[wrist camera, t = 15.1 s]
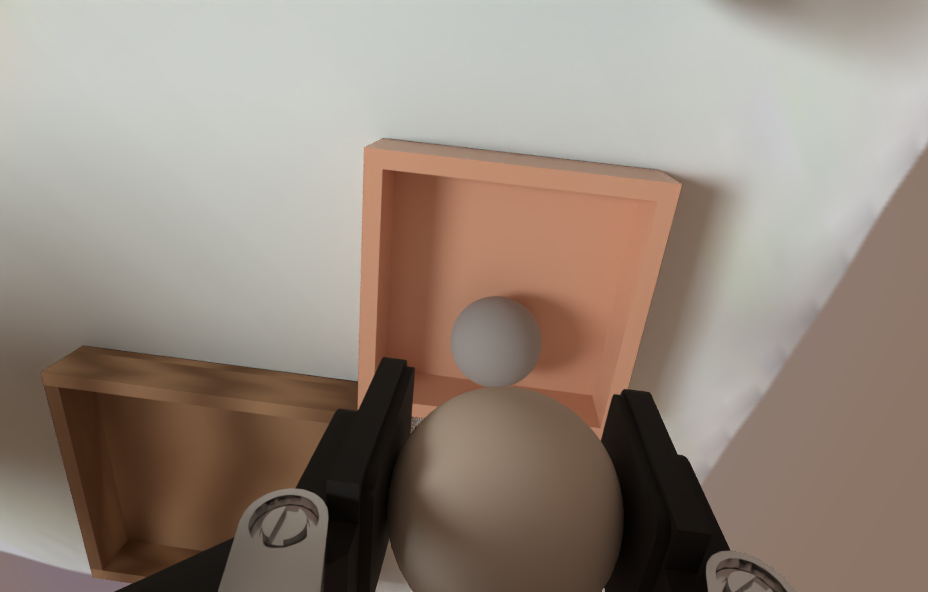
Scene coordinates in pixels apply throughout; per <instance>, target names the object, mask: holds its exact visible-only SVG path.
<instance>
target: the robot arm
mask: <svg viewBox="0 0 928 592" xmlns="http://www.w3.org/2000/svg"><path fill="white" fill-rule="evenodd" d="M414 379H415V367H409V366H407V360H403V359H396V358H388V357H383V358H382V359H381V361H380V364H379V366H378V368H377V370H376V372H375V374H374V377H373V379H372V381H371V383H370V385H369V388H368V390H367V392H366V394H365V396H364V398H363V401H362V403H361V405H360V407H359V409H358V411H355V410H348V409H341V408H339V409H337V410H336V412H335V413H334V415H333V417H332V419H331V421H330V423H329V425H328V427H327V429H326V431H325V432H324V434H323V436H322V438H321V440H320V442H319V444H318V446H317V448H316V450H315V452H314V453H313V455H312V457H311V459H310V461H309V463H308V465H307V467H306V469H305V471H304V473H303V474H302V476H301V478H300V480H299V482H298V484H297V486H296V488H295V489H293V488H290V489H282V490H277V491H274V492H271V493H268V494H266V495H264V496H262V497H261V498H259V499H257V500H256V501H254V502H253V503H252V504H251V505H250V506H249V507H248V508H247V509H246V510H245V511H244V513H243V515H242V517H241V519H240V521H239V524H238V527H237V531H236V534H235V537H233V538H231V539H229V540H227V541H225V542H222V543H220V544H218V545H216V546H214V547H211V548H209V549H207V550H205V551H203V552H201V553H198V554H196V555H194V556H192V557H190V558H187V559H185V560H183V561H181V562H179V563H176V564H174V565H172V566H170V567H168V568H165V569H163V570H161V571H159V572H157V573H155V574H152V575H150V576H148V577H146V578H144V579H141V580H139V581H137V582H135V583H133V584H130V585H128V586H126V587H124V588H122V589H119V590H117V591H115V592H375V590H376V586H377V583H378V579H379V575H380V571H381V567H382V564H383V560H384V556H385V552H386V549H387V545H388V541H389V531H388V525H387V500H388V491H389V485H390V481H391V476H392V472H393V469H394V466H395V463H396V460H397V458H398V455H399V453H400V451H401V449H402V448H403V446H404V444H405V442H406V441H407V439H408V437H409V436H410V431H411V418H412V405H413V392H414ZM601 442H602V444H603V446H604V447H605V449H606V451H607V453H608V454H609V456H610V458H611V460H612V463H613V465H614V468H615V470H616V473H617V476H618V479H619V483H620V487H621V493H622V499H623V506H624V530H623V537H622V543H621V548H620V552H619V556H618V559H617V562H616V564H615V567H614V570H613V572H612V574H611V577H610V579H609V580H608V582H607V583H606V585H605V587H604V588H605V592H796V591H795V590H794V589H793V588H792V586H791V585H790V584H789V582H788V581H787V580H786V579H785V578H784V577H783V576H782V575H781V574H780V573H778V572H777V571H776V570H775V569H774V568H773V567H771V566H769V565H768V564H766V563H765V562H763V561H761V560H760V559H758V558H755V557H753V556H750V555H748V554H746V553H741V552H736V551H730V549H729V546H728V544H727V542H726V540H725V538H724V535H723V533H722V531H721V529H720V527H719V525H718V523H717V520H716V518H715V516H714V514H713V512H712V510H711V507H710V505H709V503H708V501H707V499H706V497H705V494H704V492H703V490H702V488H701V486H700V484H699V481H698V479H697V477H696V475H695V473H694V471H693V468H692V466H691V464H690V462H689V461H688V459H687V458H686V457H685V456H683V455H678V454H677V452H676V450H675V448H674V445H673V443H672V441H671V439H670V436H669V434H668V432H667V429H666V427H665V425H664V423H663V420H662V418H661V416H660V414H659V411H658V409H657V407H656V404H655V402H654V400H653V398H652V395H651V394H650V393H649V392H644V391H636V390H629V389H623V390H622V392H621V394H620V395H618V394H614V395H613V396H612V399H611V403H610V407H609V410H608V414H607V418H606V422H605V426H604V430H603V434H602V438H601Z"/></svg>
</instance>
